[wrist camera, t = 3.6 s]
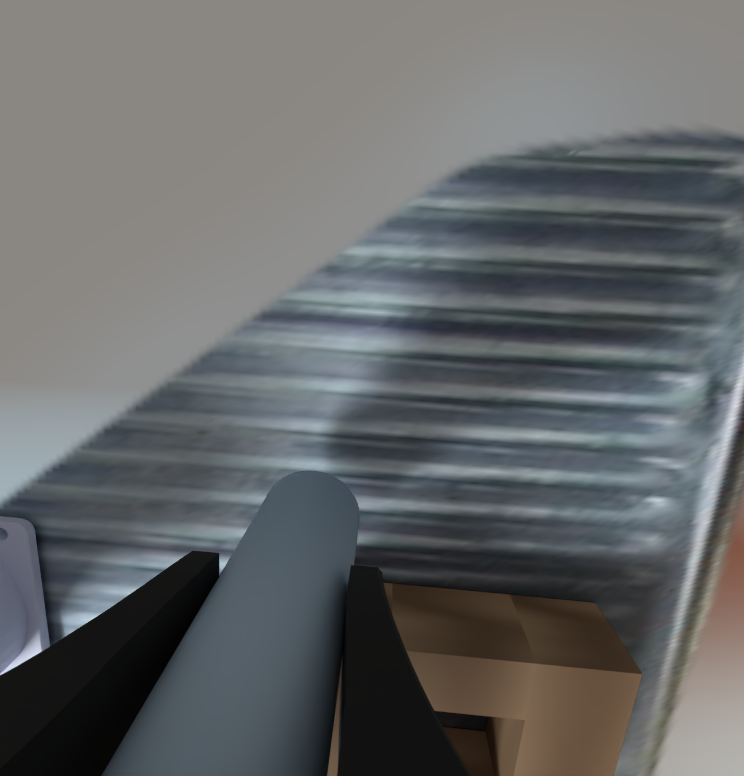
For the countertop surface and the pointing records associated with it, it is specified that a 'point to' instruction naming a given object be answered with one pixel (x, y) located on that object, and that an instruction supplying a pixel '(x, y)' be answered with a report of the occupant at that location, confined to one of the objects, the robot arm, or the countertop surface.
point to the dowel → (258, 649)
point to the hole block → (518, 679)
